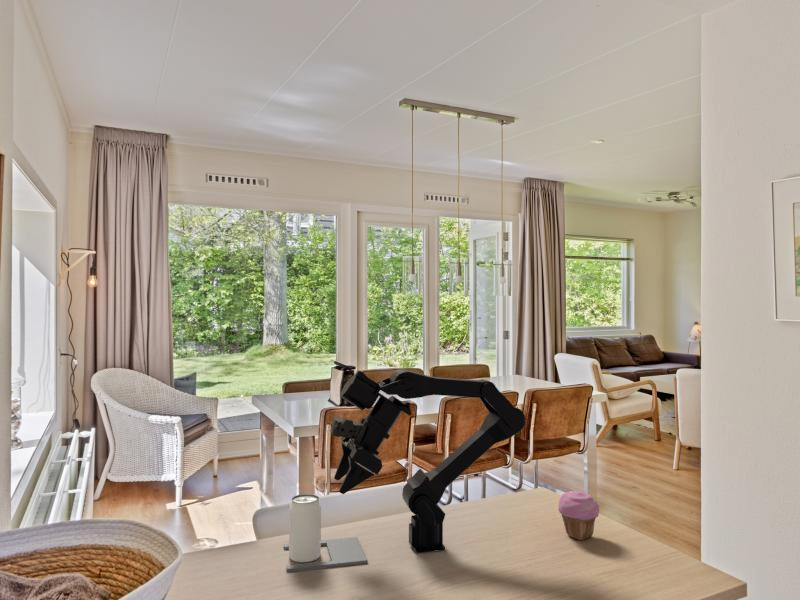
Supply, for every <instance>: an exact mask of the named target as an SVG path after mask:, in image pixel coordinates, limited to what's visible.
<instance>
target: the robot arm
mask: <svg viewBox="0 0 800 600" xmlns="http://www.w3.org/2000/svg"><path fill="white" fill-rule="evenodd" d="M380 392H383V393H385V394H386V395H388V396H390V395H391V396H390V397H386V396H385V395H384V394H382V393H380ZM394 395H395V396H394ZM396 396H398V397H399V398H401V399H403V400H404V399H405V400H406V401H402V400H400V399H399V398H397V397H396ZM429 396H444V397H445V396H446V397H460V398H461V397H462V398H474V399H475V398H477V399H479V400H480V401H481V402H482V404H483V406H484V408H485V409H486V410H487V411H488V413H487V414H486V416H485V417H484V419H483V421H482V424H481V425H480V427H479V429H478V430H476V431H475V432H474V433H473V434H472V435H471V436H470V437H469V438H467V439H466V440H465V441H464V442H463V443H461V444H460V446H458V447H457V448H456V449H455V450H454V451H453V452H452V453H450V454H449V455H448V456H447V457H446V458H444V459H443V461H442V462H440V463H439V464H438V465H437V466H436V467H434V468H433V469H432V470H430V471H427V472H424V471H423V469H421V468H419V469H418V470H417V471H416V472H415V473H414V474H413V475H412V476H411V477H409V478H407V479H405V481H406V483H405V485H404V486H403V488H402V499H403V501H404V503H405V505H406V506H407V507H408V509H409V511H410V512H411V513H412V514H413V515H411V516H410V517H411V518H410V521H411V522H409V524H408V543H409V545H410V546H411V547H412V548H413V550H414V551H415V553H416V554H419V553H420V554H421V553H429V552H440V551H445V550H446V546H445V545H444V544H443V542H444V541H443V540H444V539H443V537H444V534H443V533H444V525H443V524H444V520H445V518H446V513H445V511H444V510H443V509H442V508H441V506H440V505H439V504H438V503H440V502H441V499H442V498H443V495H444V493H445V491H446V489H447V488H448V486H450V485H451V484H452V483H453V482H454V481H456V479H458V478H459V477H460V476H461V475H462V474H463V473H464V472H465V471H466V470H468V469H469V468H470V467H471V466H472V465H473V464H475V462H476V461H478V460H479V458H481V457H482V456H483V455H484V454H485V453H486V452H488V451H489V450H490V449H491V448H492V447H493V446H494V445H495V444H498V443H501V442H504V441H506V440H508V439H510V438H512V437H515V435H517V434H519V433H520V432H522V430H523V429H524V428H525V426H526V416H525V414H524V412H523V410H521V409H520V408H518V407H516V406H514V405H513V404H512V402H511V401H510V400H509V399H508V398H507V397H506V396H505V395H504V394H503V393H502V392H501V391H500V390H499V389H498V388H497V386H496V384H495V383H493V382H492V381H490V380H487V379H482V378H481V379H468V378H456V377H455V378H454V377H453V378H452V377H441V376H430V375H427V374H423V373H420V372H416V371H412V370H409V369H406V368H398V369H396V370H395V371H394V372H392V373H391V375H390V376H389V377H386V378H384V379H381V380H379V381H375V380H373V379H372V378H370V377H369V376H367V375H366V373H364V372H363V371H361V370H359V369H358V370H356V372H355V373H354V374H353V375H352V376H351V377H350V379H349V380H347V381H346V383H345V384H344V386H343V388H342V389H341V391H340V394H339V397H340V398H342V399H343V400H345V401H346V402H348V403H349V404H351V405H352V406H354V407H356V408H357V409H359V410H360V411H364V410H365V409H366V410H370V409H371V410H370V411H369V412H368V415H367V416H366V417H365V416H364V417H362V418H361V419H360V420H359V421H355V420H353V419H347V418H346V417H345V418H341V417H335V416H334V417H333V418H332V423H331V428H330V433H331V436H333V437H336V438H340V439H341V441H340V446H341V451H342V454H341V457H340V460H339V463H338V464H337V465H338V466H337V468H336V471H335V474H334V477H333V479H334V480H336V481H337V482H338V481H340V480H341V479H343V478H344V479H343V481H342V483H341V486H340V487H339V490H338V492H339V493H340V494H342V495H345V494H346V493H348V492H349V491H351V490H352V489H354V488H356V486H359V484H361V483H363V482H365V481H366V480H367V479H370V478H371V477H374V476H375V475H379V473H380V472H381V470H382V468H383V462H382V459H381V458H380V457H379V454H380V451H379V448H380V447H381V446H382V444H383V442H384V440H385V439H386V440H388V439H389V438H390V436H391V435H390V431H391V430H392V428H393V427H394V425H395V423H396V422H397V420H398V418H399V417H400V416H401V414H402V412H403V413H405V414H406V415H408V416H412V414H413V413H412V410H411V402H409V401H407V400H409V399H419V398H420V399H421V398H423V397H429Z"/></svg>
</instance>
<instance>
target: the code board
mask: <svg viewBox="0 0 800 600" xmlns="http://www.w3.org/2000/svg"><path fill="white" fill-rule="evenodd" d="M322 545H327V546H326V549H327V552H328V556H329V559H330V560H327V561H326V560H325V561H324V560H323V561H316V562H315V561H314V562H309V563H296V564H289V565H288V564H287V565H286V567H285V569H286V573H291V572H299V571H309V570H316V569H326V568H327V569H328V568H336V567H344V566H345V567H346V566H353V565H354V566H356V565H364V564H368V563H369V562H368V558H367V555H366V553H365V551H364V549H363V546H362V545H361V543H360V540H359V537H358V536H351V537H342V538H332V539H331V538H330V539H321V547H323V546H322ZM283 550H284V551H285V550H289V542H288V543H283Z"/></svg>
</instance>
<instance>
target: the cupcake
mask: <svg viewBox="0 0 800 600" xmlns="http://www.w3.org/2000/svg"><path fill="white" fill-rule="evenodd" d="M558 512H559V514H560V515H561V517H562V521H563V524H564V529H565V533H566V535H567V536H569V537H571V538H574V539H575V540H579V541H583V540H586V539H588V538H591V537H592V536H593V534H594V530H595V529H594V528H595V521H596V519H597V518H598V517H599V514H600V506H599V504H598V503H597V501H596V500H595V498H594V497H592V496H591V495H590V494H589V493H586V492H584V491H571V490H570V491H567V492H564V493H562V494H561V496H560V498H559V500H558Z"/></svg>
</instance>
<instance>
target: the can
mask: <svg viewBox="0 0 800 600" xmlns="http://www.w3.org/2000/svg"><path fill="white" fill-rule="evenodd" d="M288 512H289V513H288V514H289V515H288V516H289V517H288V521H289V522H288V527H289V528H288V543H289V549H288V557H289V559H290V560H291V561H292V562H294V563H296V564H305V563H314V562H315V561H317V560H318V559H319V558H320V556H321V554H322V553H321V549H322V546H321V540H322V504H321V502H320V496H318V495H316V494H314V493H302V494H301V493H300V494H297V495H294V496H292V498H291V502H290V504H289V511H288Z"/></svg>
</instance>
